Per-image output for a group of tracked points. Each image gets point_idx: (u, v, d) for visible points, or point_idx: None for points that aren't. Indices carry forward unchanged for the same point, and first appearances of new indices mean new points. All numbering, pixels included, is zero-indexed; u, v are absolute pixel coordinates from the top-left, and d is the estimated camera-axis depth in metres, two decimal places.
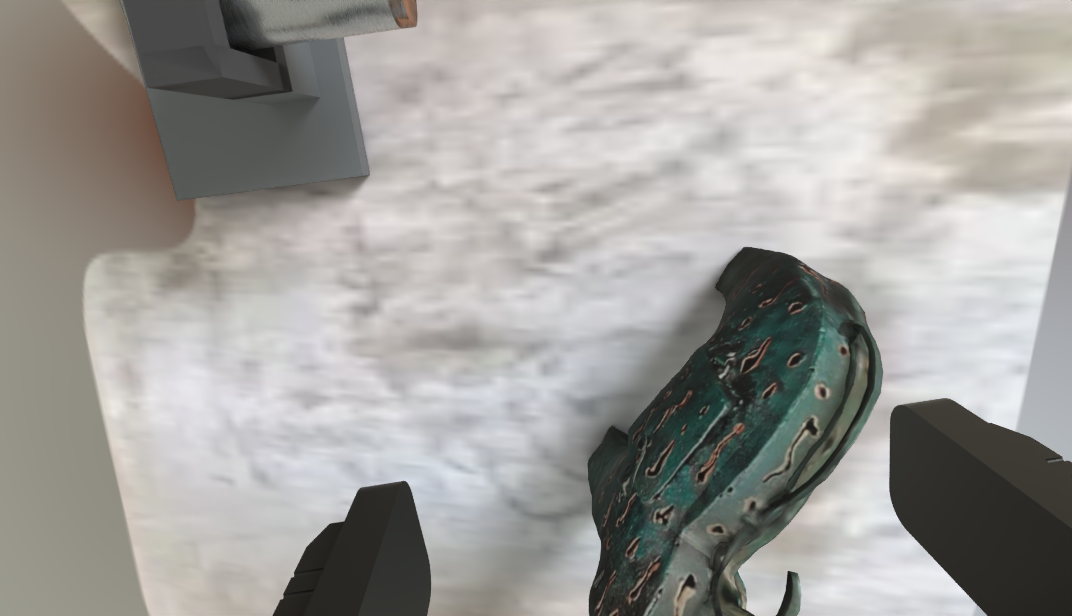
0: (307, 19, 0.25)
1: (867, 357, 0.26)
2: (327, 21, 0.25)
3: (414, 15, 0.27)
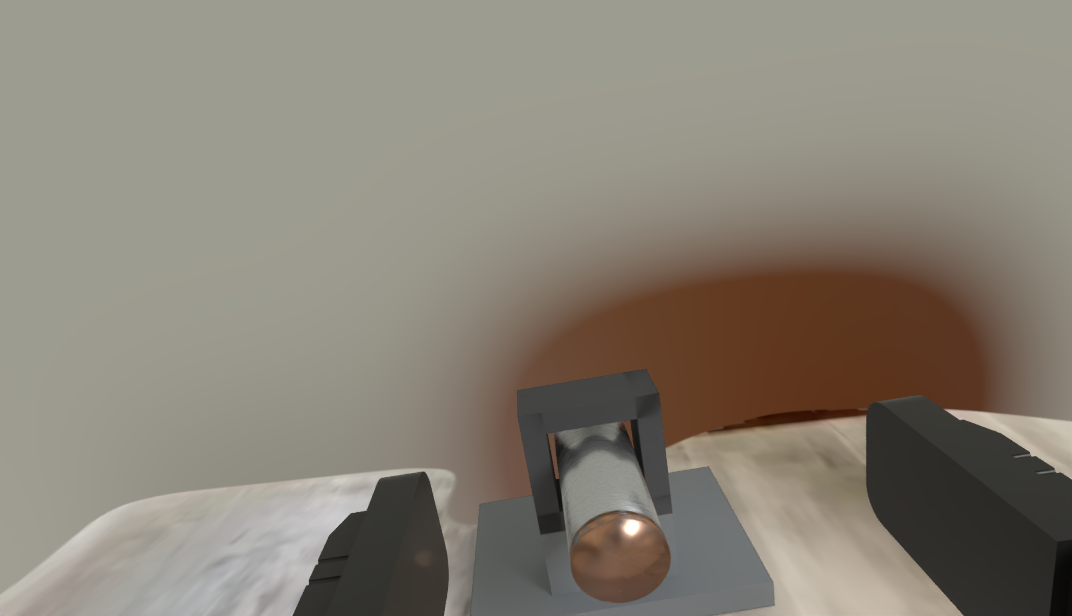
0: (570, 481, 0.28)
1: None
2: (569, 495, 0.27)
3: (588, 583, 0.25)
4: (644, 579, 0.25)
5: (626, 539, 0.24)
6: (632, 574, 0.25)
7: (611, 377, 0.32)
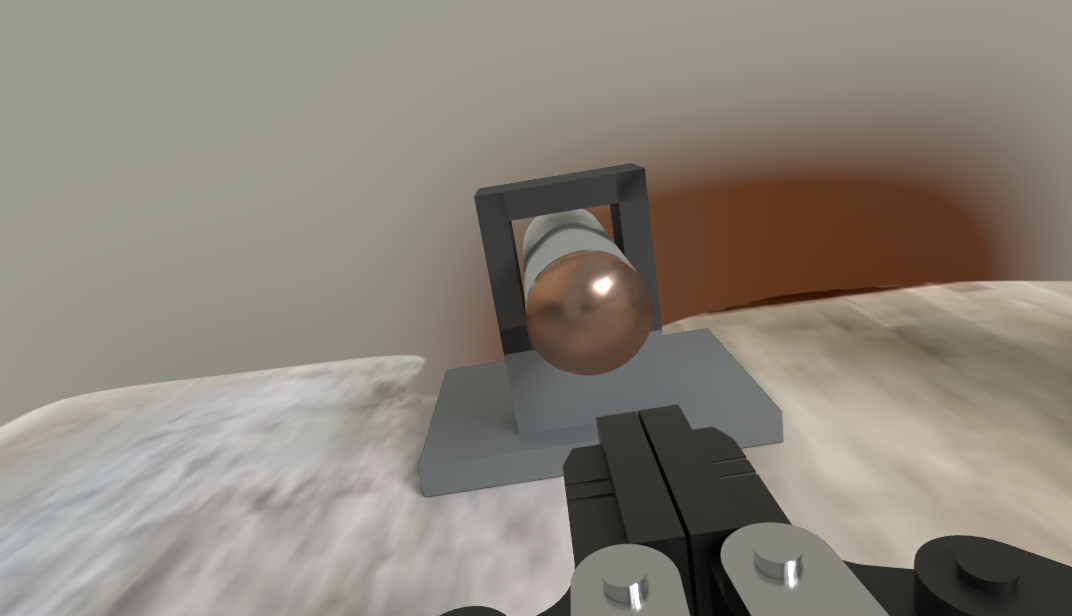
0: (533, 254, 0.23)
1: None
2: (531, 264, 0.22)
3: (548, 346, 0.20)
4: (619, 342, 0.20)
5: (596, 283, 0.19)
6: (604, 334, 0.19)
7: (590, 170, 0.27)
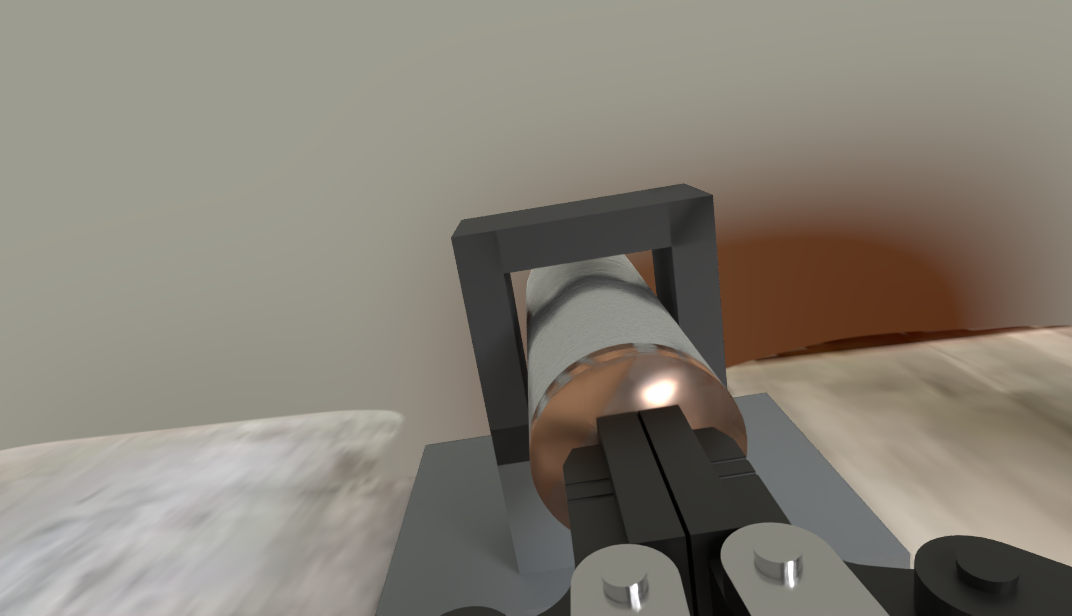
0: (542, 328, 0.15)
1: None
2: (538, 346, 0.14)
3: None
4: None
5: (653, 403, 0.11)
6: None
7: (624, 194, 0.19)
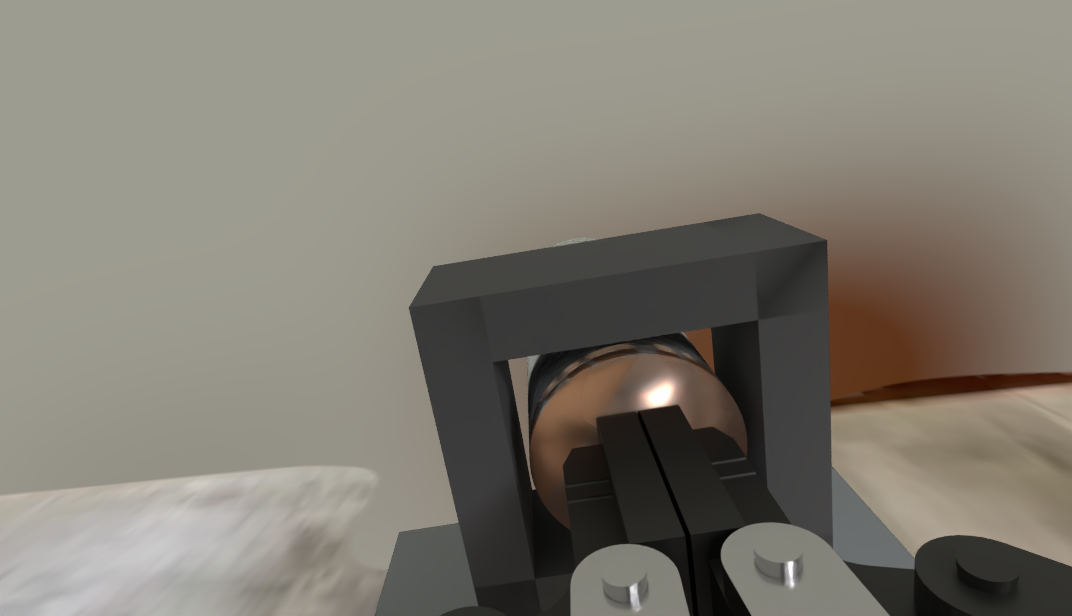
0: None
1: None
2: None
3: None
4: None
5: (652, 403, 0.11)
6: None
7: (673, 231, 0.13)
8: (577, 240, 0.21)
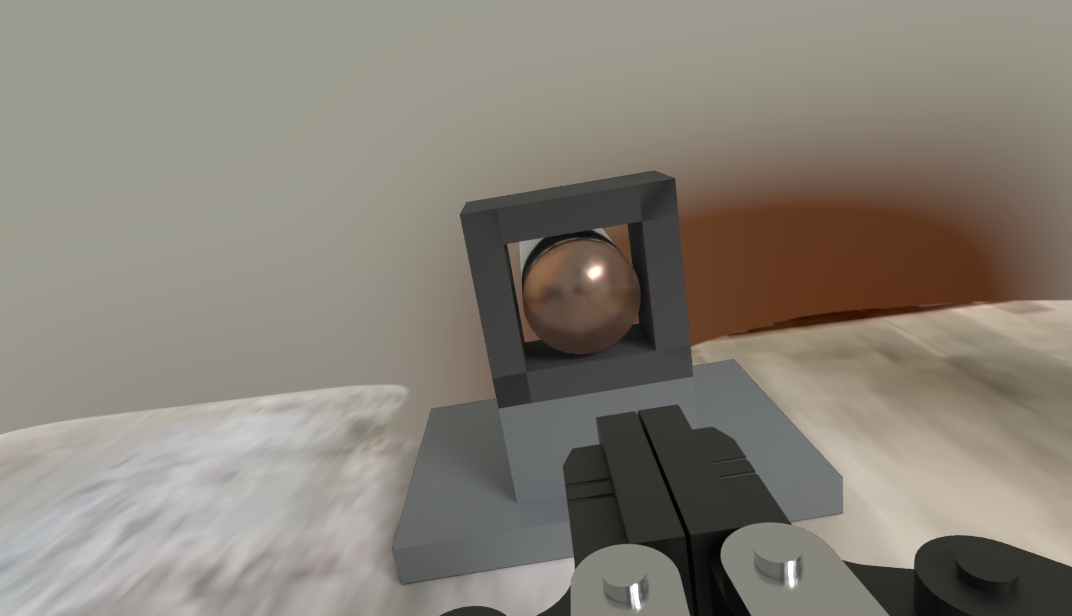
0: (529, 243, 0.24)
1: None
2: (527, 252, 0.24)
3: (544, 327, 0.21)
4: (610, 322, 0.21)
5: (588, 268, 0.20)
6: (595, 315, 0.21)
7: (604, 180, 0.22)
8: None
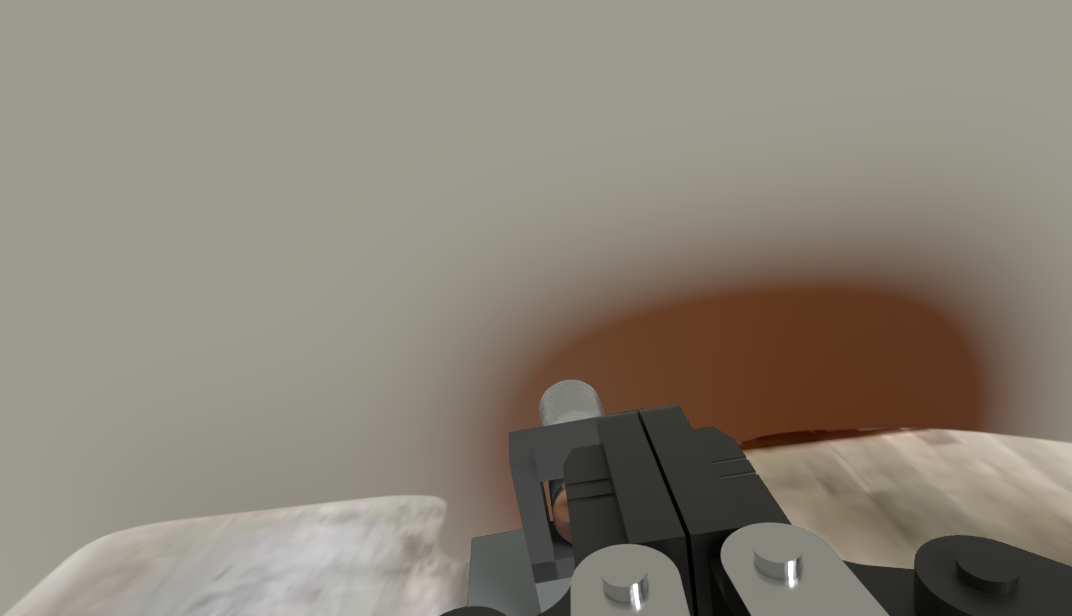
0: None
1: None
2: None
3: (567, 531, 0.30)
4: None
5: None
6: None
7: None
8: (567, 382, 0.39)
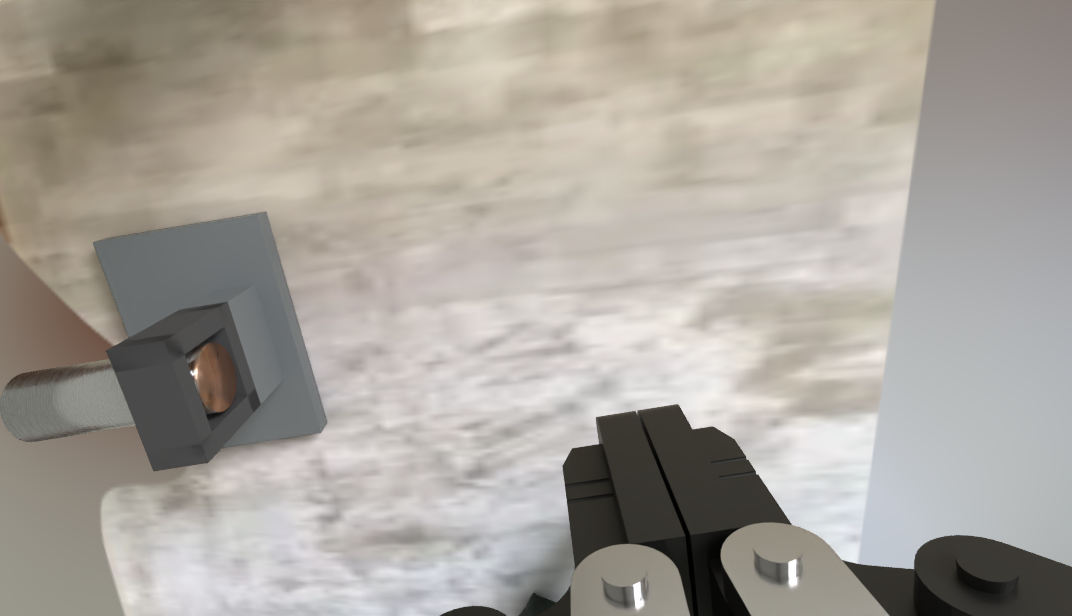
0: None
1: None
2: None
3: (231, 393, 0.36)
4: (221, 357, 0.36)
5: (207, 378, 0.34)
6: (221, 366, 0.36)
7: (127, 384, 0.31)
8: (10, 420, 0.33)
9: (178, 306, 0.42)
